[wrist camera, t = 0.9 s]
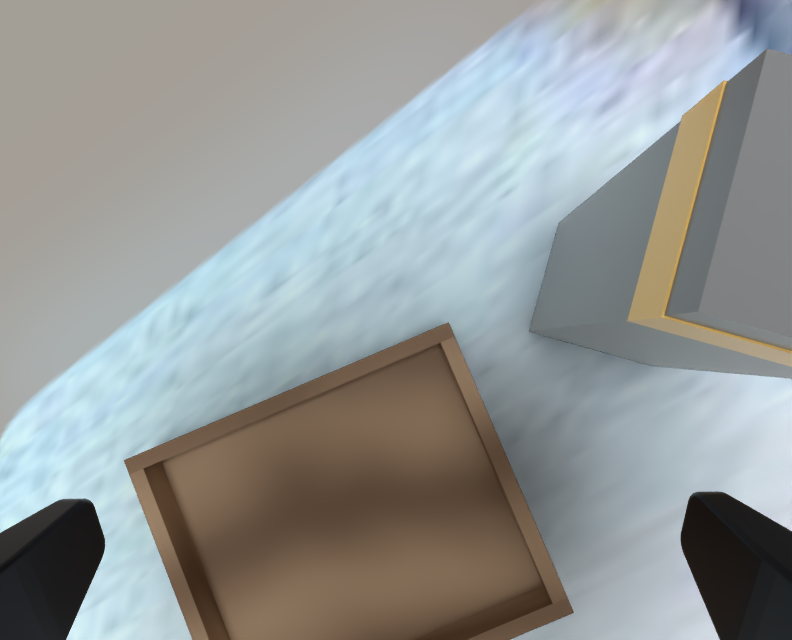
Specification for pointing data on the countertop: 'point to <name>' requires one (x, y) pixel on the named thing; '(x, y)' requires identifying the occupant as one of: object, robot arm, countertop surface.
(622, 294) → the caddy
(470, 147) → the countertop surface
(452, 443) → the tray
